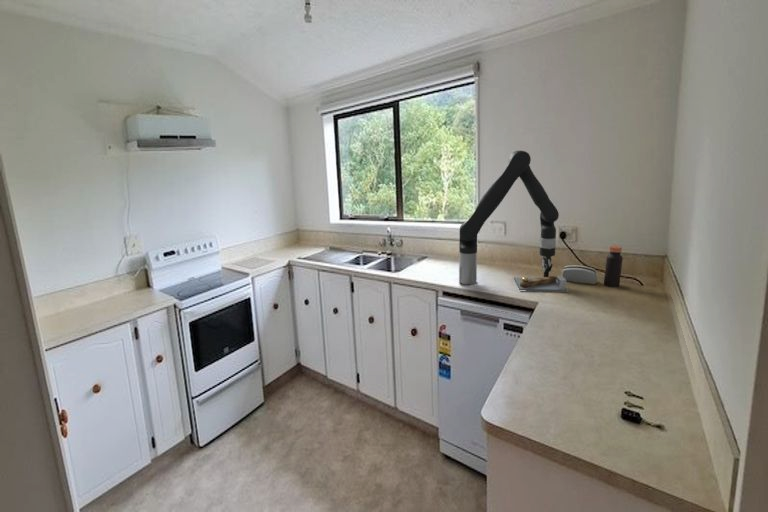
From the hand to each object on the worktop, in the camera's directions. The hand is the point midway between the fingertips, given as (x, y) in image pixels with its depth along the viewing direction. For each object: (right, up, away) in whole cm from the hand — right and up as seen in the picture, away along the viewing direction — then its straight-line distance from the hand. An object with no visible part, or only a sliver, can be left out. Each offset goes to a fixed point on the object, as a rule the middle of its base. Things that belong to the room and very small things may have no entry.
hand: (545, 277), depth 193 cm
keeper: (+3, -4, -10) cm, 11 cm away
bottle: (+30, -4, -7) cm, 31 cm away
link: (-6, -3, -4) cm, 8 cm away
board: (-5, -4, -3) cm, 7 cm away
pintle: (-14, -1, -7) cm, 15 cm away
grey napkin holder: (+17, -2, +1) cm, 18 cm away
